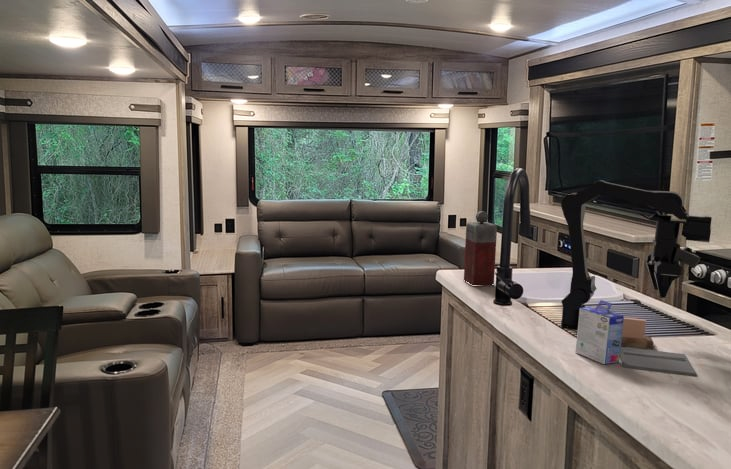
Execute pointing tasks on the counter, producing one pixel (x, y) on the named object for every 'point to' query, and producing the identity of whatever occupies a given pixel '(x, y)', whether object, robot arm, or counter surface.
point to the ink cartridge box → (599, 333)
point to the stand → (638, 342)
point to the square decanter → (480, 251)
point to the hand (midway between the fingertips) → (659, 293)
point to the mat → (656, 361)
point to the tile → (634, 328)
